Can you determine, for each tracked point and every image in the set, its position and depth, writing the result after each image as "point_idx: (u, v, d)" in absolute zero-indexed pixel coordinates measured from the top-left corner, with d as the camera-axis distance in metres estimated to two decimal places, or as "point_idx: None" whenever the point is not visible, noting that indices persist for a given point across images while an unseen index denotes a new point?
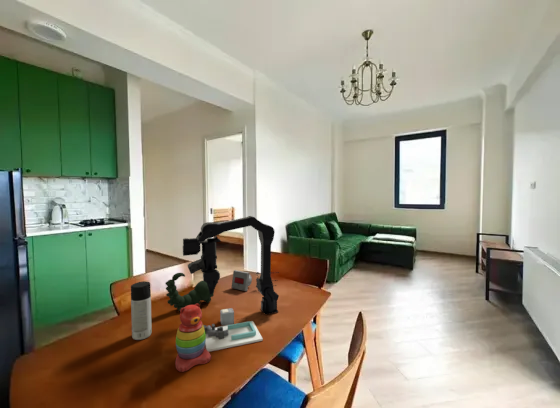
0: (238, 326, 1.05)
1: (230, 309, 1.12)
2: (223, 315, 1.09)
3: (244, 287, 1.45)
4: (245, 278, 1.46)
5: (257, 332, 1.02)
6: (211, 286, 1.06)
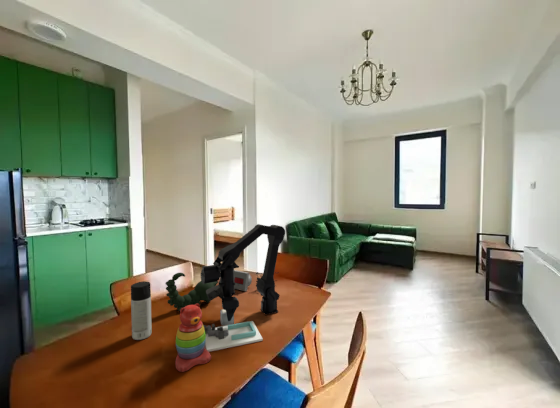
0: (238, 326, 1.05)
1: None
2: (223, 315, 1.09)
3: (244, 287, 1.45)
4: (245, 278, 1.45)
5: (257, 332, 1.02)
6: (229, 313, 1.06)
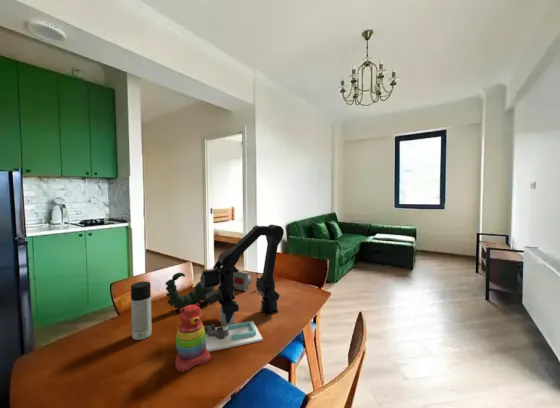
0: (238, 326, 1.05)
1: None
2: (223, 315, 1.09)
3: (243, 287, 1.45)
4: (244, 278, 1.45)
5: (257, 332, 1.02)
6: (228, 315, 1.08)
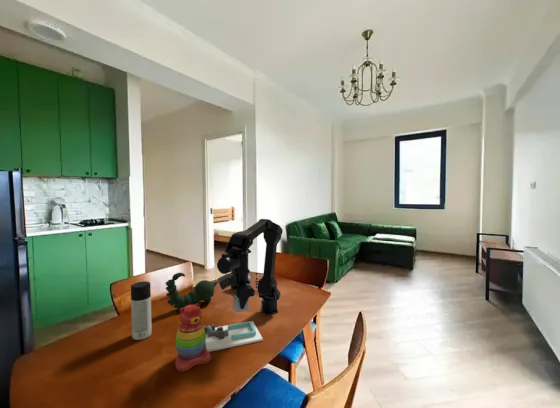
0: (238, 326, 1.05)
1: None
2: (236, 301, 0.99)
3: None
4: None
5: (257, 332, 1.02)
6: (242, 301, 0.98)
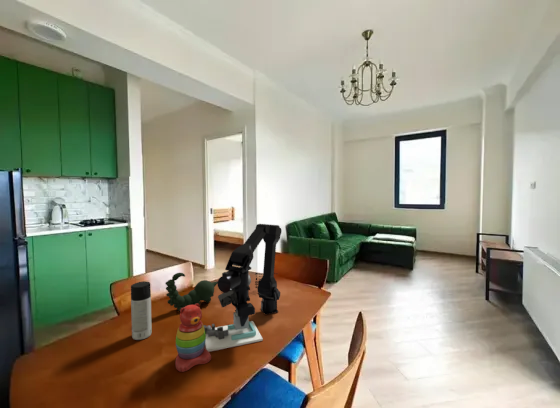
0: None
1: None
2: (237, 318, 0.99)
3: None
4: None
5: (257, 332, 1.02)
6: (243, 318, 0.99)
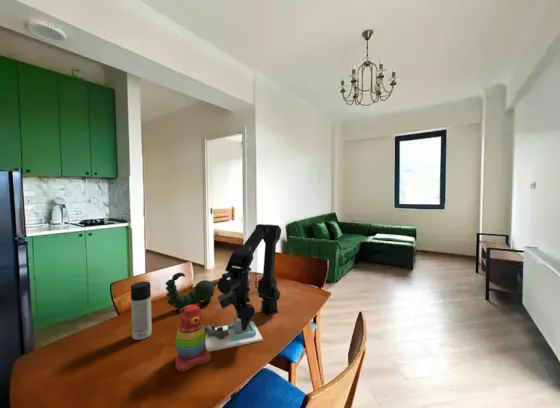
0: None
1: None
2: (237, 324, 0.99)
3: None
4: None
5: (257, 332, 1.02)
6: (244, 322, 0.97)
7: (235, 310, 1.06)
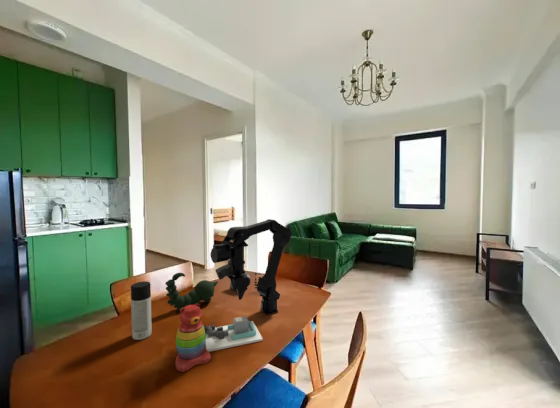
0: None
1: (244, 317, 1.03)
2: (237, 324, 0.99)
3: None
4: None
5: (257, 332, 1.02)
6: (241, 291, 1.05)
7: (231, 283, 1.14)
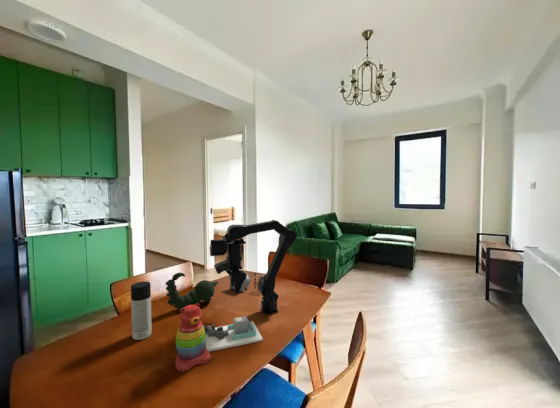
0: None
1: (244, 317, 1.03)
2: (237, 324, 0.99)
3: (241, 288, 1.44)
4: None
5: (257, 332, 1.02)
6: (237, 286, 1.10)
7: None
